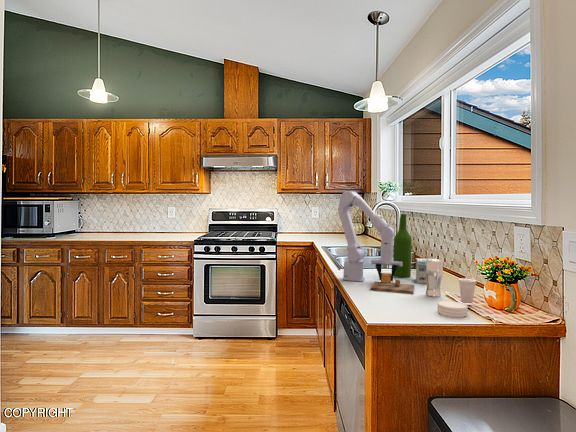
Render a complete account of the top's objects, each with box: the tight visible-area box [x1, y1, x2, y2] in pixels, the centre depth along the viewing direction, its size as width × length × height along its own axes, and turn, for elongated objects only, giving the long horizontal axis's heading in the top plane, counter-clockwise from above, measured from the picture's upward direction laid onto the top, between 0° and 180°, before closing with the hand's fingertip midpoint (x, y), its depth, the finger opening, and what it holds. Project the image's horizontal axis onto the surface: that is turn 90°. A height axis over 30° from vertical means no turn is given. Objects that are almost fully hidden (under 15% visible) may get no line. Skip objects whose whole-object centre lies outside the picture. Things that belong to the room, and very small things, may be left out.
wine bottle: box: [393, 213, 413, 279], centre depth 208 cm, size 9×9×32 cm
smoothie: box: [458, 268, 477, 304], centre depth 154 cm, size 6×6×14 cm
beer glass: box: [425, 258, 444, 298], centre depth 168 cm, size 7×7×15 cm
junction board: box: [369, 278, 415, 295], centre depth 179 cm, size 18×14×4 cm
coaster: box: [436, 300, 469, 318], centre depth 142 cm, size 10×10×4 cm
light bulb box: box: [415, 257, 427, 284], centre depth 197 cm, size 11×7×11 cm, turn 168°
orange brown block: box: [380, 272, 392, 283], centre depth 191 cm, size 5×5×4 cm
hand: (386, 280), depth 191 cm, fingers closed on orange brown block, 5 cm apart
